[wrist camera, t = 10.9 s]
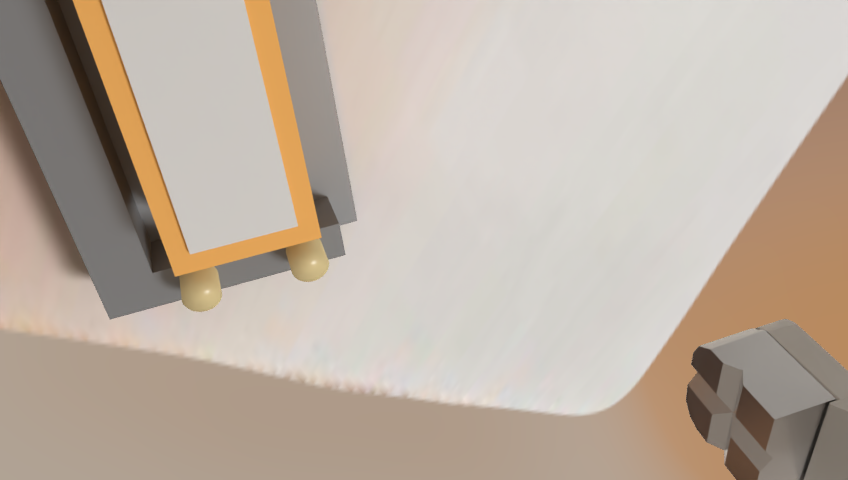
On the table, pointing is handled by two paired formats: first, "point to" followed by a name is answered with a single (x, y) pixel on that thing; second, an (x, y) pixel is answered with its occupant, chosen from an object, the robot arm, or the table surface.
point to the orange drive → (205, 124)
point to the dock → (114, 170)
